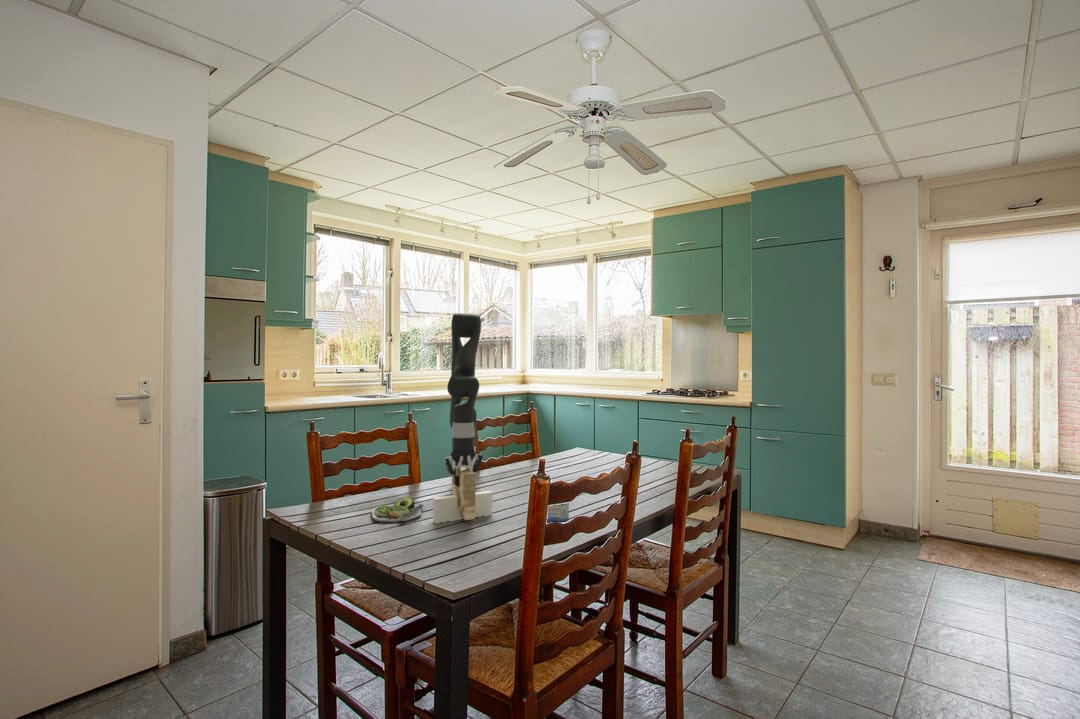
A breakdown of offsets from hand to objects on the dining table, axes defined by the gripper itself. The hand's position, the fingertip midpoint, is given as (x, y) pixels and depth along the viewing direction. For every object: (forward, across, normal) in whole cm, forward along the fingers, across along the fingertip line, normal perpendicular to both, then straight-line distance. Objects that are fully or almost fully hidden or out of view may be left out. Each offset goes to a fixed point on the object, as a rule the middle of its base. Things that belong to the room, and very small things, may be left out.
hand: (463, 485), depth 184 cm
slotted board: (+11, 0, 0) cm, 11 cm away
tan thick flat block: (+10, 0, 0) cm, 10 cm away
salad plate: (+12, +19, -14) cm, 26 cm away
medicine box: (+12, -28, +15) cm, 34 cm away
